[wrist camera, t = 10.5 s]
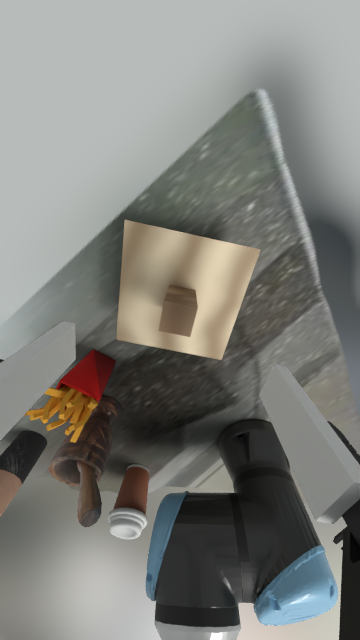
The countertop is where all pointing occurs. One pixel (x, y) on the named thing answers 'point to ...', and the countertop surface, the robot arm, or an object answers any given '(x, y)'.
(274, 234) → the countertop surface
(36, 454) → the travel mug
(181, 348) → the lid
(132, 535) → the coffee cup
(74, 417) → the french fries
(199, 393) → the countertop surface
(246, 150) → the countertop surface
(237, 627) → the robot arm
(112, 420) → the mortar and pestle
